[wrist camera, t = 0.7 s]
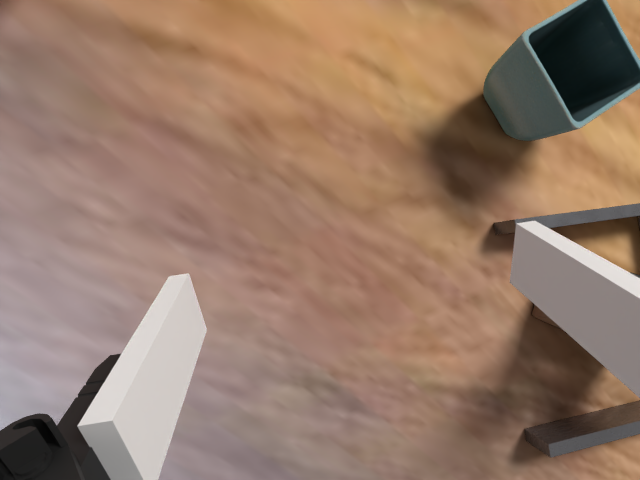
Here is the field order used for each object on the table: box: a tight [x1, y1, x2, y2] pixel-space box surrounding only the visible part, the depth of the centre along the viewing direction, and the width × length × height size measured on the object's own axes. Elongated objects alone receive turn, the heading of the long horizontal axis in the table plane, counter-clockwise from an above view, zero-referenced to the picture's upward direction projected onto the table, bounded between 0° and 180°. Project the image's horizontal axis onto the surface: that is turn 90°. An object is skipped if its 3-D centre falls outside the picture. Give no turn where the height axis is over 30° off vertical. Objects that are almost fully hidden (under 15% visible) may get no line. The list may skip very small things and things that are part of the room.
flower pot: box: [484, 0, 640, 141], centre depth 33 cm, size 9×9×9 cm
